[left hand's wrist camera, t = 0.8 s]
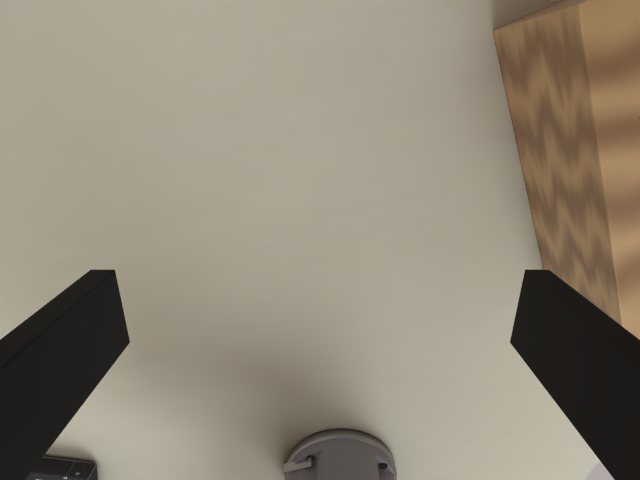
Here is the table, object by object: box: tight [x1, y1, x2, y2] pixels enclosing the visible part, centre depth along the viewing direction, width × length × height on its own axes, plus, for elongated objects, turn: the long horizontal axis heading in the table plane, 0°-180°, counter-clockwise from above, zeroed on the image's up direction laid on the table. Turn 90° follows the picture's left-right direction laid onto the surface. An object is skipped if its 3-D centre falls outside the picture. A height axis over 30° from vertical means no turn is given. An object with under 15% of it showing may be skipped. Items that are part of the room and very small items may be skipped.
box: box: [493, 0, 640, 340], centre depth 33 cm, size 29×8×12 cm, turn 22°
